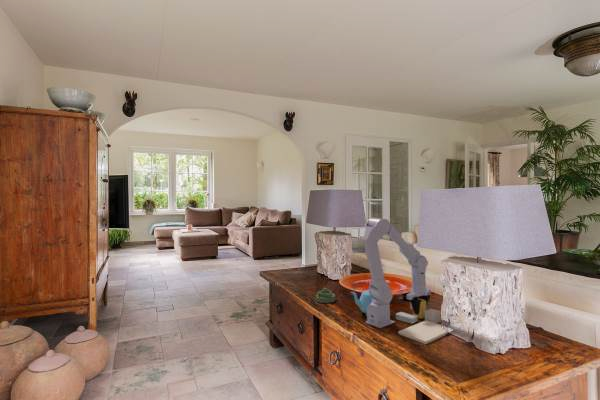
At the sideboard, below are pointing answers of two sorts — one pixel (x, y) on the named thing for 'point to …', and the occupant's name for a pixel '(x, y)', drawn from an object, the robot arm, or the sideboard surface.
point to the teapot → (363, 300)
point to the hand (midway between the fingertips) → (419, 312)
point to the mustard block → (421, 309)
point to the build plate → (404, 297)
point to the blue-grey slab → (406, 317)
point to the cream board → (424, 332)
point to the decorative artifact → (325, 296)
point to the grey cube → (433, 315)
